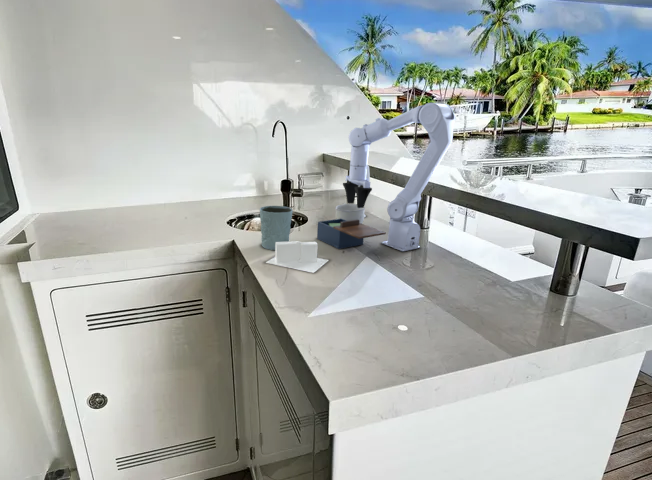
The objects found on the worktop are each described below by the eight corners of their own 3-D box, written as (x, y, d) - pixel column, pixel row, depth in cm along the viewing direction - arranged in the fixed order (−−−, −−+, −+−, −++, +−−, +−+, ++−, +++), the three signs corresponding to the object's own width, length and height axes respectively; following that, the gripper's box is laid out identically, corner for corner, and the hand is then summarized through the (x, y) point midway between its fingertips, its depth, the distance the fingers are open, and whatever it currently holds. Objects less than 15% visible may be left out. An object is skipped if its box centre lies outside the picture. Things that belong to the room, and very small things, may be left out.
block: (343, 240, 126) (344, 226, 125) (329, 240, 126) (330, 226, 124) (340, 236, 130) (341, 223, 129) (327, 236, 130) (328, 223, 129)
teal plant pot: (253, 245, 121) (253, 208, 117) (275, 238, 128) (276, 203, 124) (276, 253, 114) (276, 214, 110) (298, 245, 122) (299, 209, 118)
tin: (362, 244, 124) (364, 226, 122) (338, 249, 119) (340, 230, 117) (340, 234, 134) (341, 218, 132) (316, 238, 129) (317, 221, 127)
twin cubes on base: (264, 262, 107) (265, 243, 105) (283, 251, 116) (283, 233, 114) (314, 273, 100) (315, 252, 98) (329, 259, 110) (330, 241, 108)
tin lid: (385, 234, 115) (386, 227, 114) (359, 238, 110) (359, 231, 109) (358, 224, 125) (359, 217, 124) (333, 228, 120) (333, 221, 119)
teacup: (365, 231, 139) (367, 210, 136) (335, 230, 139) (337, 209, 136) (359, 221, 152) (361, 202, 149) (332, 220, 152) (333, 201, 149)
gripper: (380, 168, 122) (376, 209, 127) (359, 162, 135) (356, 200, 140) (360, 168, 120) (356, 210, 125) (341, 163, 133) (338, 201, 138)
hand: (355, 205), depth 132 cm, fingers open, 7 cm apart
